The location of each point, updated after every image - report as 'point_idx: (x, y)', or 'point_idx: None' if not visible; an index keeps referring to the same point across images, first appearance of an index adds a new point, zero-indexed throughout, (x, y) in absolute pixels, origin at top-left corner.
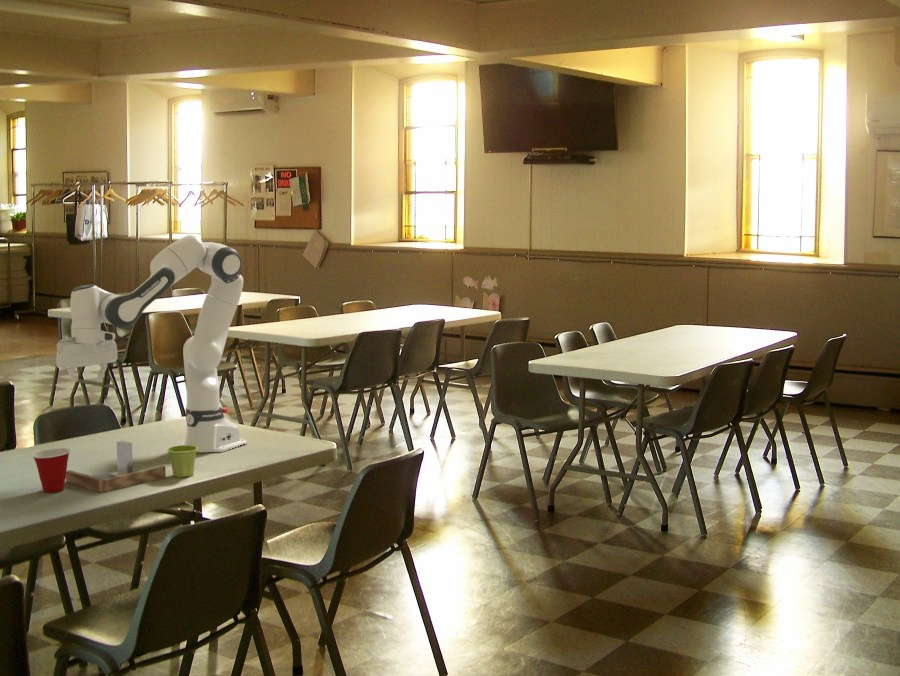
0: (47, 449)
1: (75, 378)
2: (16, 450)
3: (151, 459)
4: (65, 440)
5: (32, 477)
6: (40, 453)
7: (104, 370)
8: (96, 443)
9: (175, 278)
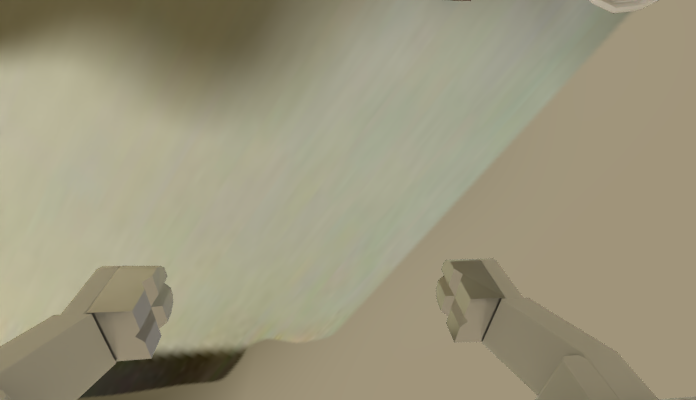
0: (596, 4)
1: (496, 278)
2: (313, 336)
3: (88, 23)
4: (197, 344)
5: (454, 132)
6: (621, 2)
7: (40, 333)
8: None
9: None
